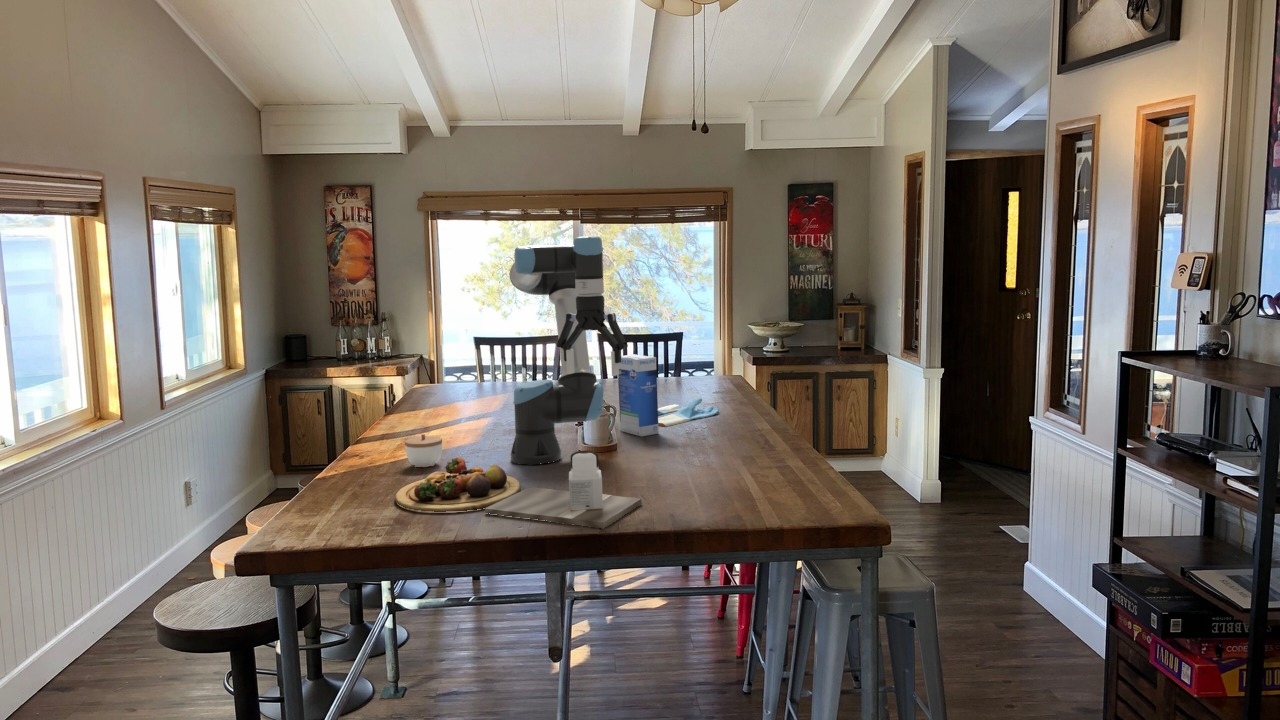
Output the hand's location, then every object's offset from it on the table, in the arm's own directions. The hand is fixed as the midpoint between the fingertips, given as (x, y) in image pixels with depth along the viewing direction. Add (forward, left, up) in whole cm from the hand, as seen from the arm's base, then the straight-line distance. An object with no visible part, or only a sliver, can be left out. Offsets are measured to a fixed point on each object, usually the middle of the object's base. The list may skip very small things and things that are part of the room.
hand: (592, 374), depth 243 cm
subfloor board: (+6, -28, -29) cm, 41 cm away
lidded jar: (-56, -3, -29) cm, 63 cm away
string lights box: (-15, +58, -29) cm, 67 cm away
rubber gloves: (-17, +89, -29) cm, 95 cm away
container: (+12, -28, -27) cm, 41 cm away
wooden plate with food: (-26, -26, -29) cm, 47 cm away
